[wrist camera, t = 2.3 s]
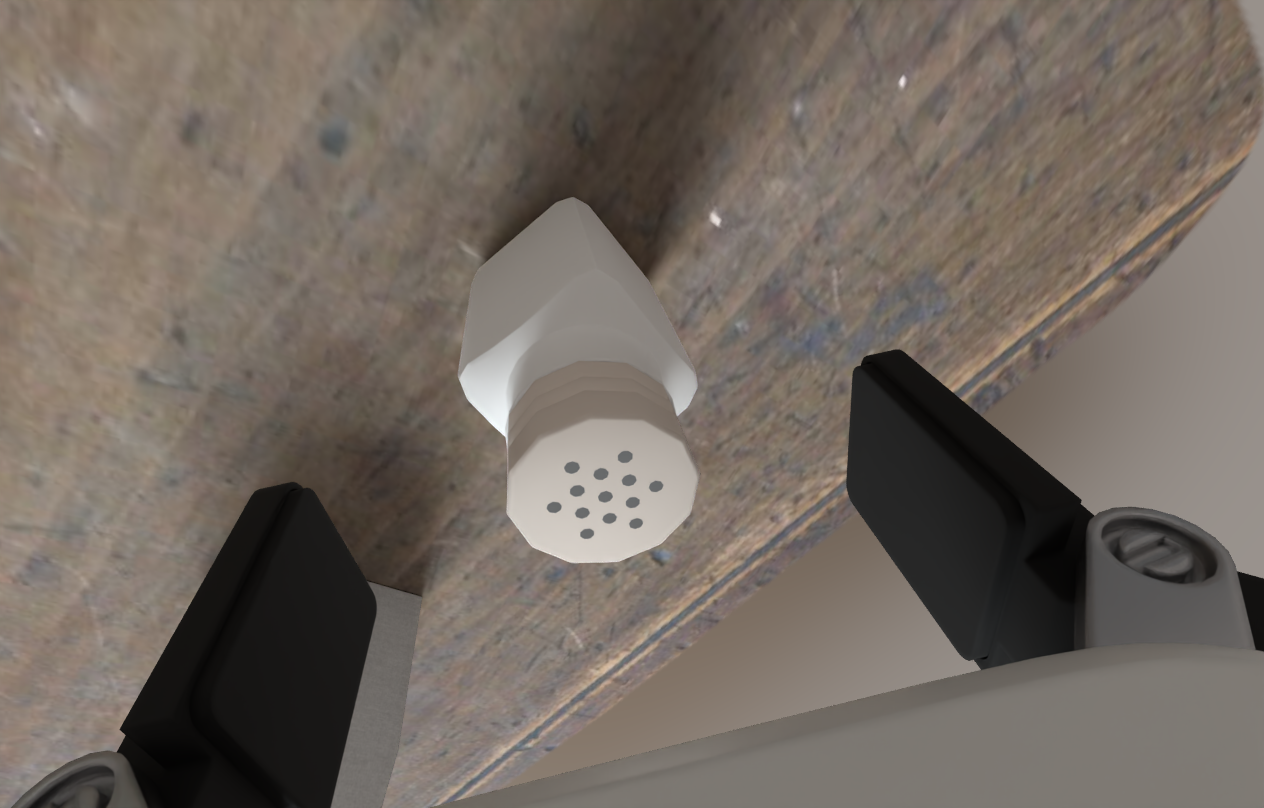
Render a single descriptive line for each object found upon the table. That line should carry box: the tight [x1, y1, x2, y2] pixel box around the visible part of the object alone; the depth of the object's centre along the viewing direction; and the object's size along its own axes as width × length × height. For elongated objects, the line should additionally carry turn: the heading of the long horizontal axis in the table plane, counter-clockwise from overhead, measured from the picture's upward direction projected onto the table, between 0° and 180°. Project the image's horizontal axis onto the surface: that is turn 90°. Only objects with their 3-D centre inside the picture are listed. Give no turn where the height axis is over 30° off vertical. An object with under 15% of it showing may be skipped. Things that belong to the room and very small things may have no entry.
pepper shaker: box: [458, 197, 700, 563], centre depth 14 cm, size 4×4×10 cm
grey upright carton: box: [331, 581, 422, 808], centre depth 19 cm, size 4×7×10 cm, turn 55°
